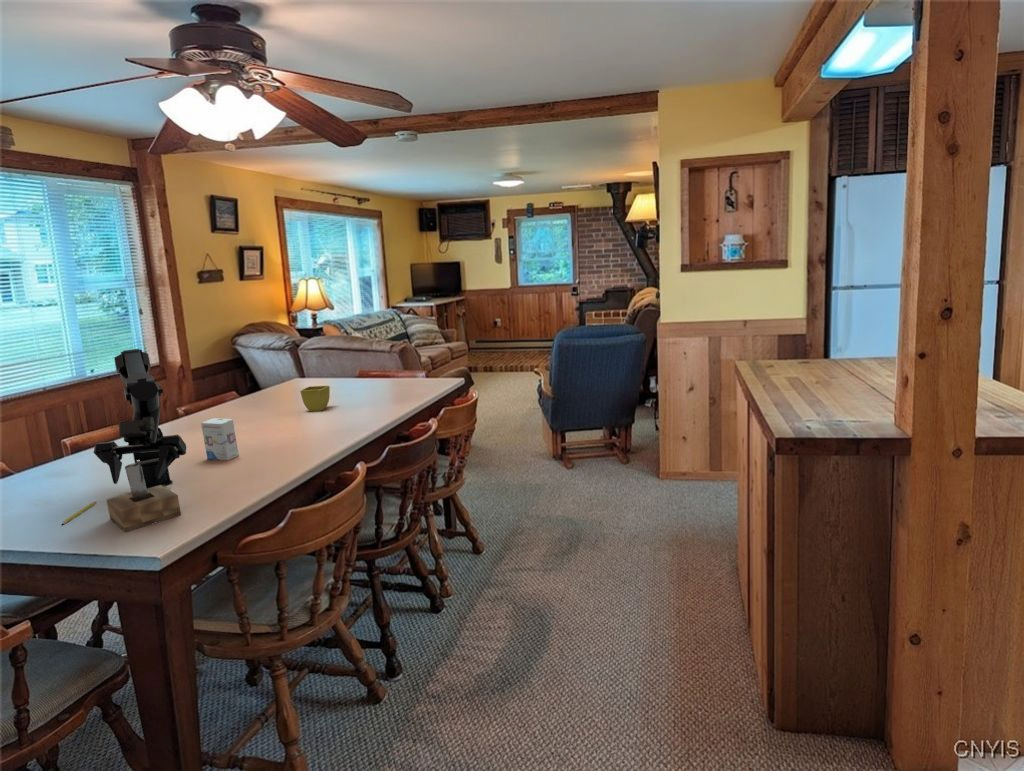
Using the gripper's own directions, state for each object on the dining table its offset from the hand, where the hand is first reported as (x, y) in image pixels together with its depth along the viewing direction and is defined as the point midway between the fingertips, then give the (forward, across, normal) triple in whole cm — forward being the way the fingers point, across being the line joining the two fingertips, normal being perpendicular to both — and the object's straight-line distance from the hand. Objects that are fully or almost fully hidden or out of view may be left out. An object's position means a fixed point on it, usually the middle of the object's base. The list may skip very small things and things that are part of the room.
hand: (136, 480), depth 152 cm
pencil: (0, -18, +14) cm, 23 cm away
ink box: (-27, +6, +41) cm, 50 cm away
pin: (+5, 0, +7) cm, 9 cm away
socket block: (+6, 0, +8) cm, 10 cm away
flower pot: (-68, +28, +82) cm, 110 cm away
